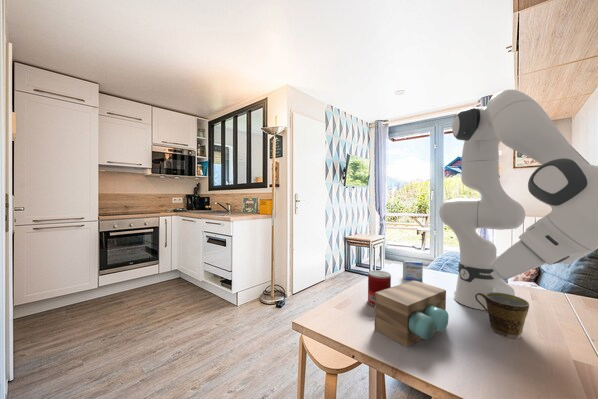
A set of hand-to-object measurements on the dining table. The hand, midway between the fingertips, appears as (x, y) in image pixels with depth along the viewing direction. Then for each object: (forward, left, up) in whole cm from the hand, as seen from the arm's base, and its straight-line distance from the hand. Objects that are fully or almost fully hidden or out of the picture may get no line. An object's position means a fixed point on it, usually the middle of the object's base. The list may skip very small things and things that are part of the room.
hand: (495, 276), depth 58 cm
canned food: (+7, -38, -22) cm, 44 cm away
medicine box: (-23, -58, -22) cm, 66 cm away
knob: (+6, -17, -18) cm, 26 cm away
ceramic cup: (-18, -13, -22) cm, 31 cm away
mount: (+6, -18, -21) cm, 29 cm away
